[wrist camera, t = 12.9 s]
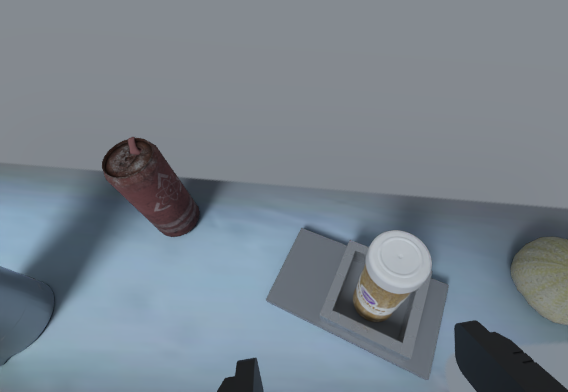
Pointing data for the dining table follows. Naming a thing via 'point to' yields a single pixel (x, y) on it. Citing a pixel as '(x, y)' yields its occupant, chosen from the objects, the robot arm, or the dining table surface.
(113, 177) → the can
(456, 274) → the dining table surface
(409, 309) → the collar
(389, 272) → the sprinkles bottle
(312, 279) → the slate board
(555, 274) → the sea urchin shell
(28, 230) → the dining table surface
